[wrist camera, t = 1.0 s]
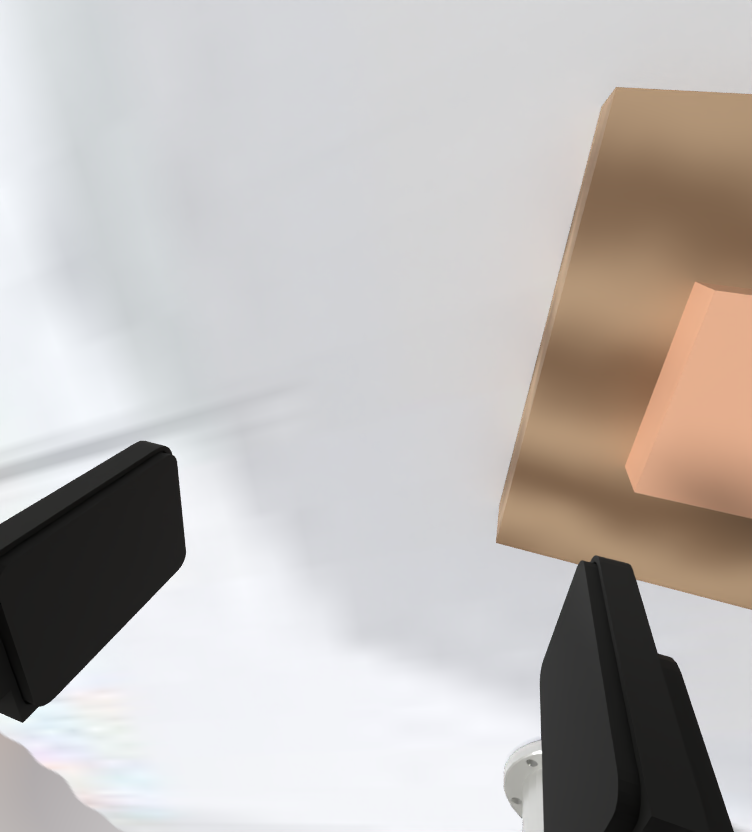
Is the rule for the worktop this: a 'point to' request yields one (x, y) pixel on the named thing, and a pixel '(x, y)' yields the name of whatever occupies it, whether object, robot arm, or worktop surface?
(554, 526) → the board
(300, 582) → the worktop surface
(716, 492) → the terracotta tile
